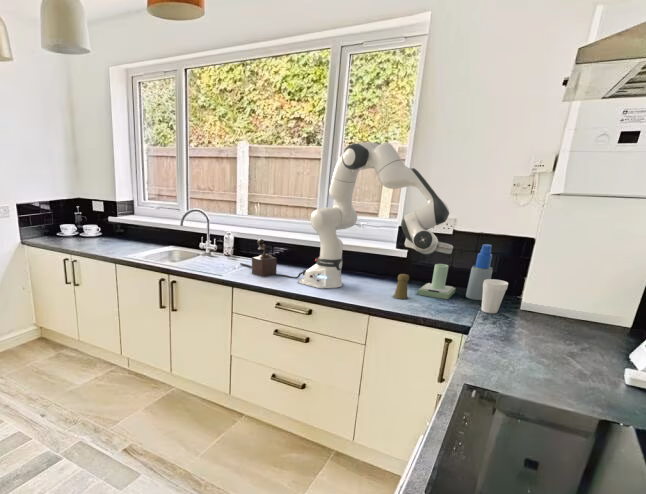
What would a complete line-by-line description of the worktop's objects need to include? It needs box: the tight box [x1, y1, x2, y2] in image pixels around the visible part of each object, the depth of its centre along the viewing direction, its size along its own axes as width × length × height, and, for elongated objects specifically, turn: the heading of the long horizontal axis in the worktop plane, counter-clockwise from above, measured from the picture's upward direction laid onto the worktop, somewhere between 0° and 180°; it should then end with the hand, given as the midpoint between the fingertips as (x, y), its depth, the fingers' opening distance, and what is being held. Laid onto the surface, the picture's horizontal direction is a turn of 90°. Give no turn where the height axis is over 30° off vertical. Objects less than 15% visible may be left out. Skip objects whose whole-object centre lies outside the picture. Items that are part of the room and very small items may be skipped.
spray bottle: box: [465, 243, 494, 301], centre depth 214 cm, size 9×9×25 cm
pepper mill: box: [251, 238, 278, 278], centre depth 258 cm, size 16×11×18 cm
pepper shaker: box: [393, 273, 410, 300], centre depth 216 cm, size 6×6×11 cm
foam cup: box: [480, 278, 509, 314], centre depth 198 cm, size 10×9×13 cm
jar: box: [431, 263, 449, 289], centre depth 221 cm, size 6×6×11 cm
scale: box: [417, 282, 456, 300], centre depth 224 cm, size 14×14×3 cm
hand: (429, 246), depth 208 cm, fingers open, 8 cm apart
